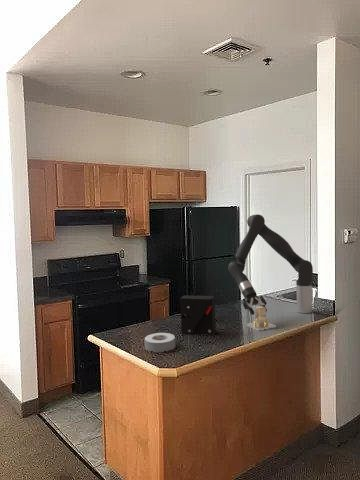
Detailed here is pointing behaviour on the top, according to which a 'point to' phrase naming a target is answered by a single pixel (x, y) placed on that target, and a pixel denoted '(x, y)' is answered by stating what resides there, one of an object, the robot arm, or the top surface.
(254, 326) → the plate
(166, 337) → the tape roll
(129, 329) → the top surface
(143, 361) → the top surface
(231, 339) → the top surface
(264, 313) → the block
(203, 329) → the electrical component
